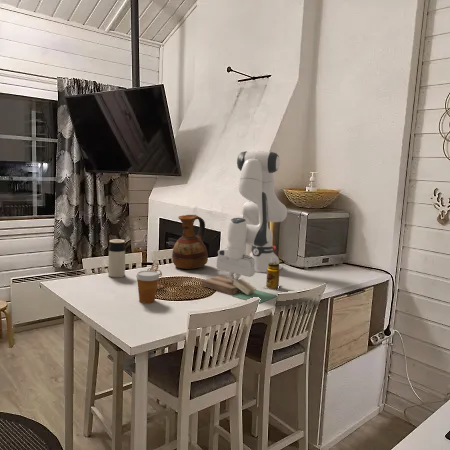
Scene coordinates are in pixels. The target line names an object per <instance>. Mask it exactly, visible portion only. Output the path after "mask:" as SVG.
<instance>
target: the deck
mask: <svg viewBox="0 0 450 450" xmlns="http://www.w3.org/2000/svg"><path fill="white" fill-rule="evenodd" d="M233 283H234V282H231V277H228V276H223V275H217V276H213V277H209V278H206V279H205V278H204V279H202V280H201V284H200V286H201V285H203V286H206V287H208V288H211V289H214V290H213V291H215V290H216V291H215V292H219V293H222V294H226V295H229V296H233V295H236V294H239V293H242V292H243V291H241V290H240V289H238V288H237V287H236V286H234V285H233ZM208 288H207V289H208ZM211 289H210V290H211Z"/></svg>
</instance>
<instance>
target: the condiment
mask: <svg viewBox="0 0 450 450" xmlns="http://www.w3.org/2000/svg"><path fill="white" fill-rule="evenodd" d="M279 265H280V263H279V264H278V263H269V264H268V269H267V272H266V284H265V286H264V287H263V288H264V289H267V288H269V290H273V289H274V290H276V289H277V290H276V291H280V289H281V287H283V285H280V273H281V271H280V270H281V269H280V270H279ZM279 285H280V286H279ZM278 286H279V288H280V289H278Z"/></svg>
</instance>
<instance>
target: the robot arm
mask: <svg viewBox="0 0 450 450" xmlns="http://www.w3.org/2000/svg"><path fill="white" fill-rule="evenodd" d="M280 161H281V160H280V156H279V154H278V153H277V152H273V151H264V150H258V151H256V150H255V151H252V150H251V151H242V152H240V153H239V154H238V155H237V158H236V164H237V169H238V170H239V171H240V175H239V181H238V191H239V193H240V195H241V196H242V197H243V198H244V199H246V200H248V201H245V202H244V204H243V205H242V206H241V213H242V216H243V217H233V218H231V219H230V220H229V223H228V227H227V244H226V248H223V249H219V250H218V251H217V254H218V255H217V257H216V263H215V265H216V268H217V270H219V271H224V272H228V275H229V278H231V282H234V281H236V280H239V278H241V276H243V277H246V278H247V277H248V278H251V277H254V276H255V273H267V269H268V264H269V263H278V264H279V270H282V269H283V266H282V265H280V258H279V257H278V255H277V254H275V252H274V250H276V248H277V247H276V245H273V231H272V230H271V229H270V227H269V222H270V223H281V222H284V221H285V220H286V218H287V216H288V209H287V207H286V205H285V204H284V203H282V202H281V201H280V200H279V198H278V197H277V195H276V192H275V185H274V184H275V183H274V173H276V172H277V171H278V170H279V167H280V164H281V162H280ZM247 222H248V223H249V224H248V223H247ZM247 245H250V246H251V247H250V251H251V252H249V255H247V253H246V252H247Z"/></svg>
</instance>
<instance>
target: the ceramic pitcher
mask: <svg viewBox="0 0 450 450" xmlns="http://www.w3.org/2000/svg"><path fill="white" fill-rule="evenodd" d="M177 219H179V220H180V222H181V224H182V226H181V228H182V236H181V237H179V238H178V239H177V240H176V242H175V244H174V246H173V249H172V253H171V254H172V255H171V257H172V258H171V259H172V263H173V265H174V266H175V267H177V268H179V269H187V270H188V269H189V270H190V269H198V268H202V267H204V266H205V265H207V264H208V261H209V255H208V249H207V247H206V245H205V244H204V242H203V237H204V234H205V230H206V222H205V220H204V219H203V218H202V217H200V216H198V215H197V214H183V215H179V216H177ZM196 220H198V222H199V228H198V232H197V235H196V234H195V231H194V223H195V221H196Z"/></svg>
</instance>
